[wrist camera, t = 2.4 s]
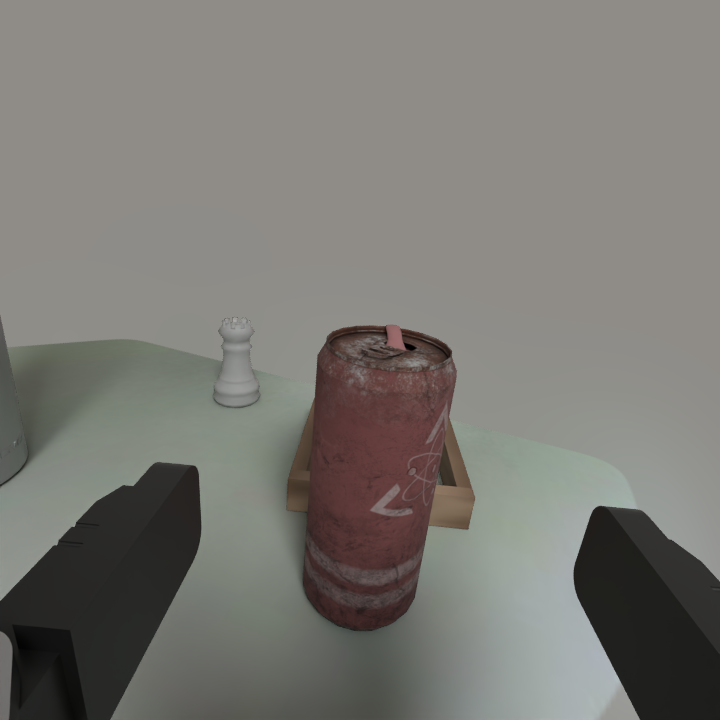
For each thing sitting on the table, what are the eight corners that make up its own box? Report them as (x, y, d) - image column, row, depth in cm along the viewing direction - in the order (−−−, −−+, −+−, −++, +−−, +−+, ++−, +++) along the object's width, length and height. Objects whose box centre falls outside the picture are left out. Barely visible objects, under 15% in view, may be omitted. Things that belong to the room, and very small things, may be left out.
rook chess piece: (239, 385, 45) (239, 312, 42) (269, 399, 43) (271, 322, 40) (203, 398, 42) (200, 319, 39) (233, 414, 39) (232, 331, 37)
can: (403, 539, 27) (440, 324, 22) (424, 637, 21) (480, 372, 16) (306, 537, 26) (320, 315, 21) (299, 637, 20) (316, 362, 15)
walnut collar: (286, 510, 28) (288, 478, 27) (313, 421, 39) (314, 397, 39) (467, 529, 28) (475, 498, 27) (442, 435, 39) (447, 411, 38)
